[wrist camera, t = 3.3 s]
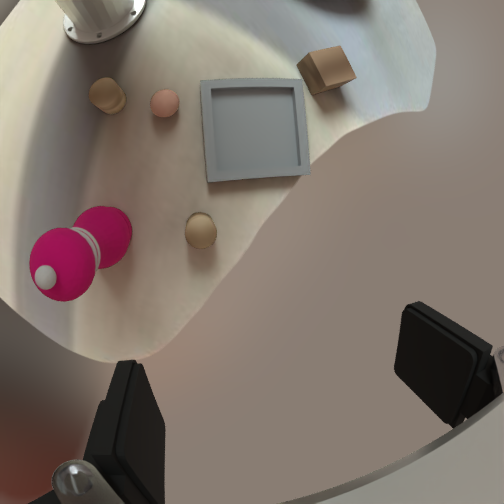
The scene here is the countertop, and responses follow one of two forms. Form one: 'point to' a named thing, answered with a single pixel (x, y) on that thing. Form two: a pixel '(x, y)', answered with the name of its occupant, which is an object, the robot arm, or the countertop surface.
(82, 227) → the pepper mill
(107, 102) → the cork
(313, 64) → the walnut block
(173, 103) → the ball
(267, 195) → the countertop surface
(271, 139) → the tray
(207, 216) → the cork
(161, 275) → the countertop surface
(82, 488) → the robot arm
